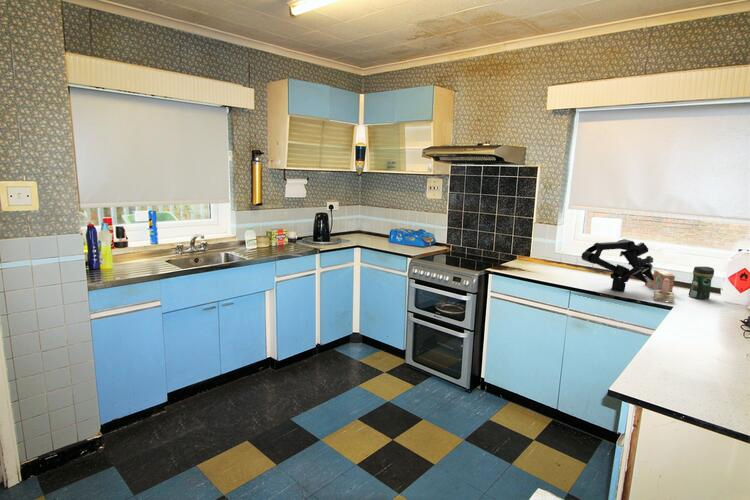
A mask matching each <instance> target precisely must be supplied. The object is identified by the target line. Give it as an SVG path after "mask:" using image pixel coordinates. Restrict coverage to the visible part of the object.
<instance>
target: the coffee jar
mask: <svg viewBox="0 0 750 500" xmlns="http://www.w3.org/2000/svg"><path fill="white" fill-rule="evenodd" d="M692 275H693V276H692V277H693V278H692V281H691V285H690V287H689V291H688V296H689V297H690V298H692V297H693V299H698V300H708V299H710V297H711V287H712V279H713V277H714V276H715V269H714V267H710V266H694V268H693V271H692Z"/></svg>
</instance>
